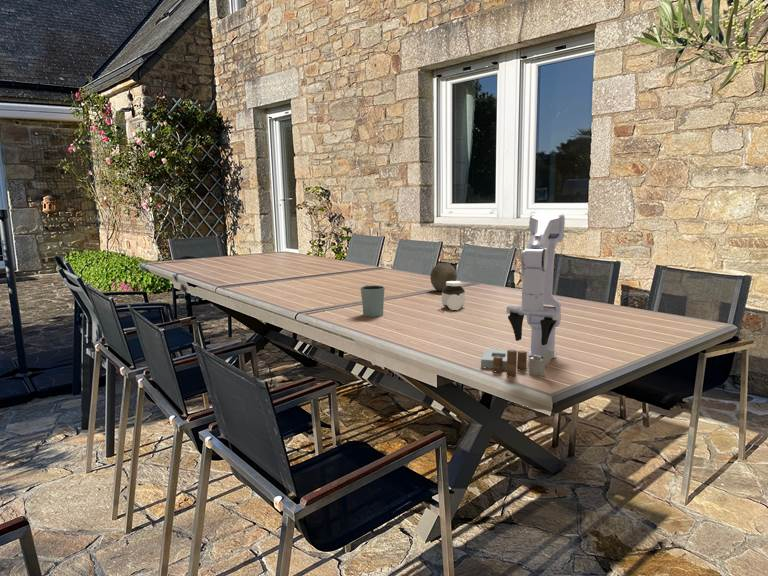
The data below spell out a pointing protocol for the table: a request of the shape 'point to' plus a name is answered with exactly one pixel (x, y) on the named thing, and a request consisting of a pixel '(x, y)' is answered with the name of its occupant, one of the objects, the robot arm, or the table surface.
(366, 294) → the grey-green cup
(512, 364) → the tall dowel
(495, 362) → the short dowel
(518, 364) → the medium dowel
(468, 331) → the table surface
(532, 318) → the robot arm
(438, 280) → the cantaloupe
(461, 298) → the spread jar
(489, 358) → the socket block
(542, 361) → the lighter
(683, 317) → the table surface
